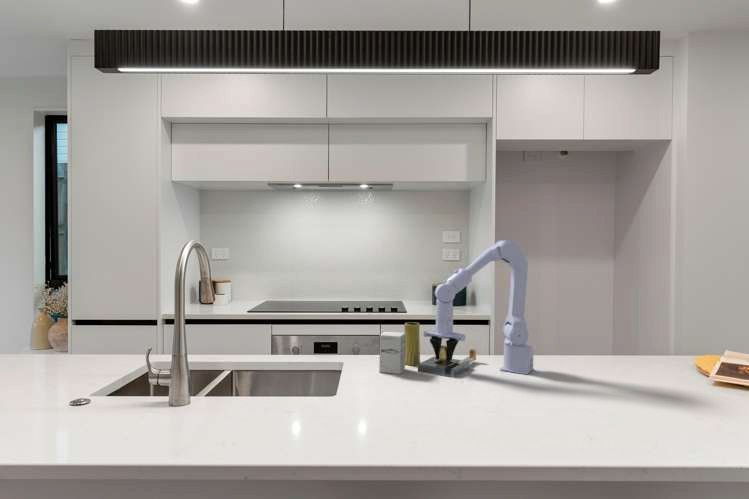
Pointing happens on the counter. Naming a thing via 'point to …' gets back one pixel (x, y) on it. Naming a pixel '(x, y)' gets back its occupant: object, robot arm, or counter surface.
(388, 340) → the supplement box
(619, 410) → the counter surface
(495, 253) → the robot arm
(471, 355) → the lock pin
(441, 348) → the gold cylinder
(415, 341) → the vase
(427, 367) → the socket
